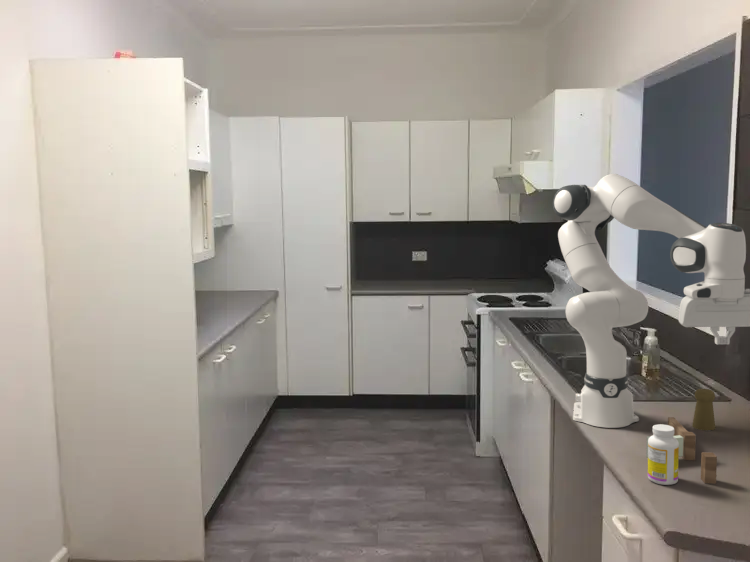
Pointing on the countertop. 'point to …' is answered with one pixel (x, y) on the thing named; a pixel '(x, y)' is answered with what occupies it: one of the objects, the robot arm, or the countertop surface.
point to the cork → (704, 410)
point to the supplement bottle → (663, 455)
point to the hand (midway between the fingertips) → (722, 344)
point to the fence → (689, 452)
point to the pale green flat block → (680, 441)
